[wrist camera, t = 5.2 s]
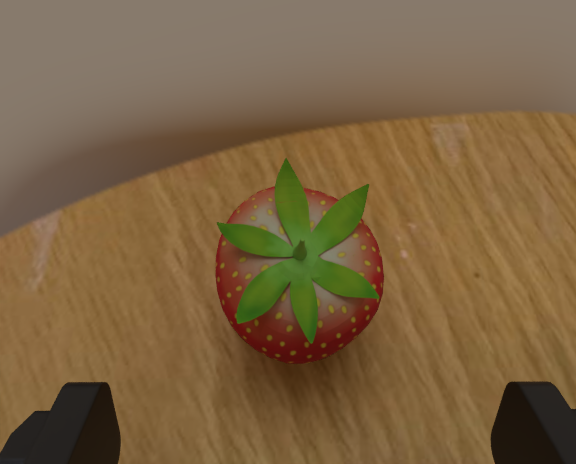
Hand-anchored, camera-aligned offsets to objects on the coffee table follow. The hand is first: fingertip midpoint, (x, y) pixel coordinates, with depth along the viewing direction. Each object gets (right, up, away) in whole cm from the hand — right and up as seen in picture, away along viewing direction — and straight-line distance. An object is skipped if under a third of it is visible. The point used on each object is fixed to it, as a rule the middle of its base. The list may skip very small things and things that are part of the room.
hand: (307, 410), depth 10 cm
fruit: (0, +1, +9) cm, 10 cm away
